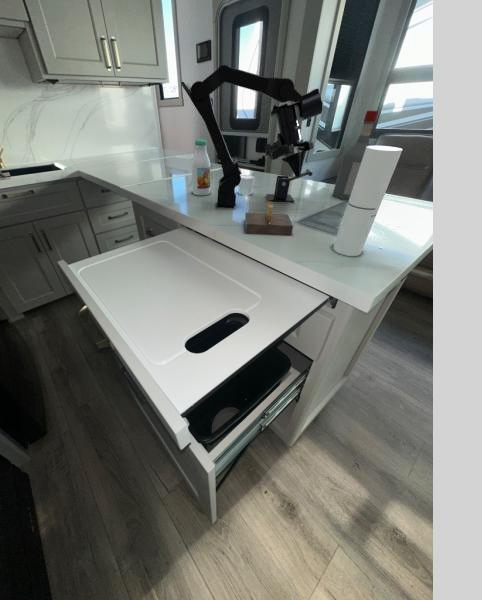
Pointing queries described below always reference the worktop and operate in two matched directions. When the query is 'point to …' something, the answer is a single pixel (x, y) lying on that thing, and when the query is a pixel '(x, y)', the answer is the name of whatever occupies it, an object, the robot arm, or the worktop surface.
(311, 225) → the worktop surface
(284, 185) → the latch bracket
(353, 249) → the cylindrical container
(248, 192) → the shot glass
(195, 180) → the milk bottle
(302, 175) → the latch
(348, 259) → the worktop surface
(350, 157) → the liquor
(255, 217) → the brown flat block
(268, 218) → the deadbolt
